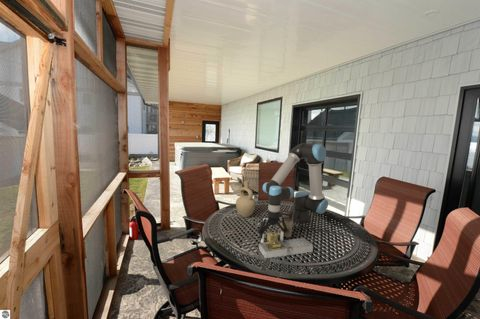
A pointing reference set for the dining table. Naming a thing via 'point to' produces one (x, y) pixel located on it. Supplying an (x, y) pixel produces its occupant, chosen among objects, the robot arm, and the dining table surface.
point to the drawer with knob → (274, 244)
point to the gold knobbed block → (272, 236)
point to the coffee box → (286, 222)
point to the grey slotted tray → (286, 248)
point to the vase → (245, 201)
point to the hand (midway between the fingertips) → (271, 242)
